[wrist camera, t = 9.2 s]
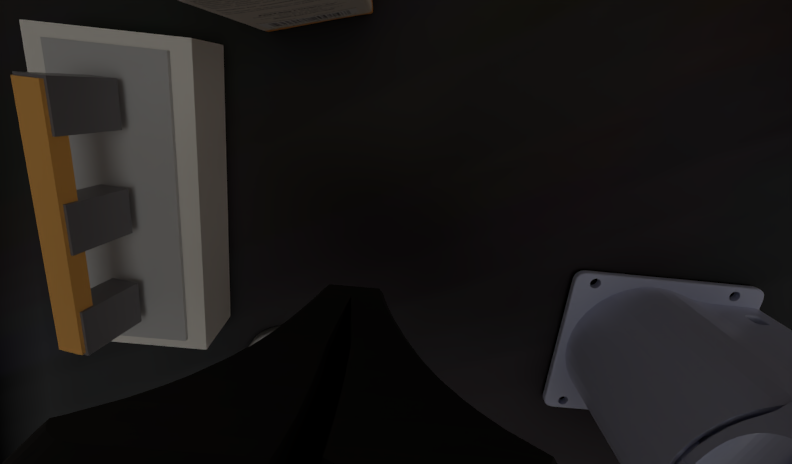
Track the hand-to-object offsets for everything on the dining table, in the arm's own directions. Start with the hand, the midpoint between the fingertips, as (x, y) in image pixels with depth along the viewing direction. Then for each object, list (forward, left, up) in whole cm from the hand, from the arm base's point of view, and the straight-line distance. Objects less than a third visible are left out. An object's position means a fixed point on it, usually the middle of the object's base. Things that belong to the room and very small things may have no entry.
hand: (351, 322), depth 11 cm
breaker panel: (+10, 0, -10) cm, 14 cm away
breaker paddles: (+10, 0, -7) cm, 12 cm away
